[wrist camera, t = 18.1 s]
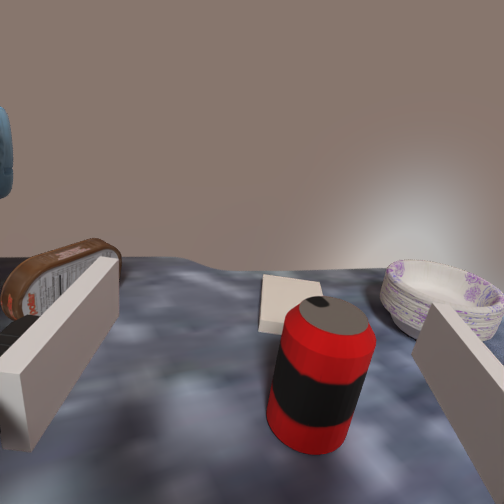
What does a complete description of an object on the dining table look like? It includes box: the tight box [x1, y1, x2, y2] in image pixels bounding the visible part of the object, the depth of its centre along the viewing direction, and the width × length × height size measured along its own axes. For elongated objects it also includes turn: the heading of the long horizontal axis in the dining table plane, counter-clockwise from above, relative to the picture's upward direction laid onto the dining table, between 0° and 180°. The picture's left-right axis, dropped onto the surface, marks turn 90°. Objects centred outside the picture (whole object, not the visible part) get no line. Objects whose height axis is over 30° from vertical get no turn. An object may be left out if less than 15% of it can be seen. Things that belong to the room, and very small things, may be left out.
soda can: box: [267, 296, 376, 455], centre depth 32 cm, size 8×8×12 cm
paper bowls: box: [380, 259, 504, 341], centre depth 51 cm, size 15×15×8 cm
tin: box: [0, 238, 122, 321], centre depth 44 cm, size 15×3×8 cm, turn 154°
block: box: [258, 274, 323, 335], centre depth 52 cm, size 2×9×13 cm
